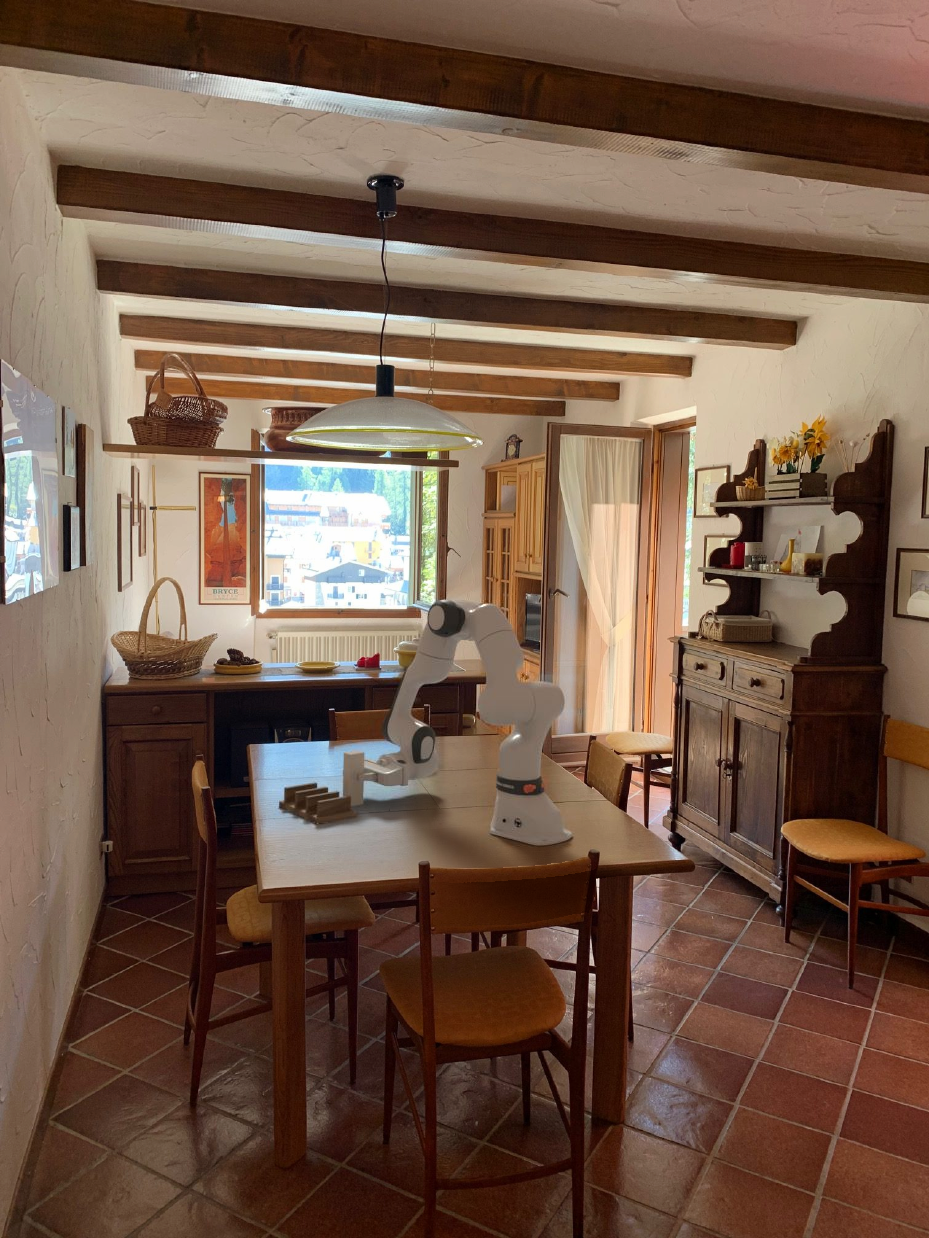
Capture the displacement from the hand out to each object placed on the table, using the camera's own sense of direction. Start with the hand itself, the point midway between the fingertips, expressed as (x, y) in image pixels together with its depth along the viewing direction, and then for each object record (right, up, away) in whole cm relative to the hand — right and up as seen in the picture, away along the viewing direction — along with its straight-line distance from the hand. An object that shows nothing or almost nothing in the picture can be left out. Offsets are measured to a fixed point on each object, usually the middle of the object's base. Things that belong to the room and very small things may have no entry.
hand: (351, 775), depth 261 cm
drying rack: (-9, -9, -7) cm, 14 cm away
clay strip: (0, -8, +1) cm, 9 cm away
